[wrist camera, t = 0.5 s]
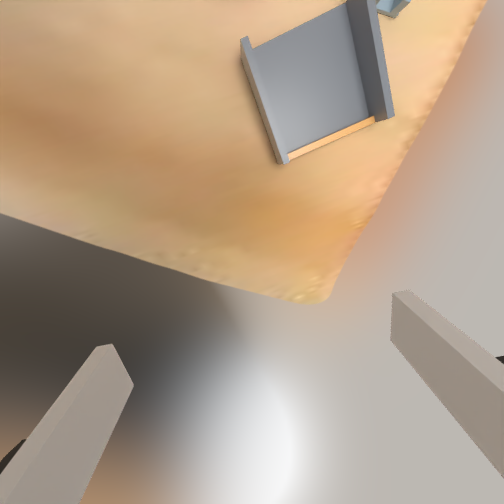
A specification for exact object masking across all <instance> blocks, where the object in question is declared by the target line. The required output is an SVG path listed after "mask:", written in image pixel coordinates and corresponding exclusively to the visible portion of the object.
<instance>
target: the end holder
mask: <svg viewBox="0 0 504 504" xmlns="http://www.w3.org/2000/svg"><path fill="white" fill-rule="evenodd" d="M240 47H241V60H242V63H243V66H244V69H245V72H246V75H247V77H248V80H249V83H250V86H251V89H252V91H253V94H254V97H255V100H256V103H257V106H258V108H259V111H260V114H261V117H262V120H263V123H264V125H265V128H266V131H267V134H268V137H269V139H270V142H271V145H272V148H273V151H274V154H275V156H276V159H277V162H278V164H283V165H284V164H286V163H289V162H290V160H291V159H293V158H296V157H298V156H300V155H302V154H305V153H307V152H309V151H311V150H314V149H316V148H318V147H320V146H323V145H325V144H327V143H330V142H332V141H334V140H336V139H339V138H341V137H343V136H345V135H348V134H350V133H352V132H355V131H357V130H359V129H361V128H364V127H366V126H368V125H370V124H373V123H375V122H378V121H382V120H386V119H389V118H391V117H393V116H395V114H394V108H393V102H392V96H391V91H390V85H389V79H388V73H387V67H386V61H385V55H384V49H383V43H382V38H381V32H380V26H379V20H378V14H377V8H376V2H375V0H347V1H346V3H344V4H342V5H340V6H338V7H336V8H334V9H332V10H330V11H328V12H326V13H324V14H322V15H320V16H318V17H316V18H314V19H312V20H310V21H308V22H306V23H304V24H302V25H300V26H298V27H296V28H294V29H292V30H290V31H288V32H286V33H284V34H282V35H280V36H278V37H276V38H274V39H272V40H270V41H268V42H266V43H264V44H262V45H260V46H258V47H256V48H254V49H252V47H251V44H250V41H249V38H248V36H246V37H244V38H242V39H240Z"/></svg>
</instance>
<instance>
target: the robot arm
mask: <svg viewBox="0 0 504 504" xmlns="http://www.w3.org/2000/svg"><path fill="white" fill-rule="evenodd" d="M391 341H392V342H393V344H394V345H395V346H396V347H397V349H398V350H399V351H400V352H401V353H402V355H403V356H404V357H405V358H406V360H407V361H408V362H409V363H410V364H411V366H412V367H413V368H414V369H415V370H416V372H417V373H418V374H419V375H420V377H421V378H422V379H423V380H424V382H425V383H426V384H427V385H428V386H429V388H430V389H431V390H432V391H433V393H434V394H435V395H436V396H437V397H438V399H439V400H440V401H441V402H442V403H443V405H444V406H445V407H446V408H447V410H448V411H449V412H450V413H451V415H452V416H453V417H454V418H455V419H456V421H457V422H458V423H459V424H460V426H461V427H462V428H463V429H464V430H465V432H466V433H467V434H468V435H469V436H470V438H471V439H472V440H473V441H474V443H475V444H476V445H477V446H478V448H479V449H480V450H481V451H482V452H483V454H484V455H485V456H486V457H487V459H488V460H489V461H490V462H491V463H492V465H493V466H494V467H495V468H496V469H497V471H498V472H499V473H500V474H501V476H502V477H503V478H504V356H500V357H494V356H492V355H491V354H490V353H489V352H487V351H486V350H485V349H484V348H482V347H481V346H480V345H478V344H477V343H476V342H475V341H473V340H472V339H470V337H468V336H467V335H466V334H465V333H463V332H462V331H461V330H460V329H458V328H457V327H456V326H454V325H453V324H452V323H451V322H449V321H448V320H447V319H445V318H444V317H443V316H442V315H441V314H439V313H438V312H437V311H435V310H434V309H433V308H432V307H430V306H429V305H428V304H427V303H425V302H424V301H423V300H422V299H420V298H419V297H418V296H416V295H415V294H414V293H413V292H411V291H410V290H406V291H401V292H395V293H393V294H392V317H391ZM133 386H134V385H133V383H132V381H131V379H130V377H129V375H128V373H127V371H126V369H125V367H124V365H123V363H122V361H121V360H120V358H119V356H118V354H117V352H116V350H115V348H114V346H113V344H109V345H103V346H98V347H96V348H95V349H94V351H93V352H92V353H91V355H90V356H89V358H88V359H87V360H86V361H85V363H84V364H83V365H82V367H81V368H80V369H79V371H78V372H77V373H76V375H75V376H74V377H73V379H72V380H71V381H70V383H69V384H68V385H67V387H66V388H65V389H64V391H63V392H62V393H61V395H60V396H59V397H58V399H57V400H56V401H55V403H54V404H53V405H52V406H51V408H50V409H49V411H48V412H47V413H46V414H45V416H44V417H43V418H42V420H41V421H40V423H39V424H38V425H37V426H36V428H35V429H34V430H33V432H32V433H31V434H30V436H29V437H28V438H27V439H24V440H22V441H21V442H20V443H19V444H18V445H17V446H16V447H14V448H13V449H12V450H11V451H10V452H9V453H8V454H7V455H6V456H5V457H4V458H3V459H2V460H1V462H0V504H79V503H80V500H81V498H82V496H83V494H84V492H85V489H86V488H87V485H88V483H89V481H90V479H91V477H92V475H93V472H94V470H95V468H96V466H97V464H98V462H99V460H100V457H101V455H102V453H103V451H104V448H105V447H106V444H107V442H108V440H109V438H110V436H111V434H112V432H113V429H114V427H115V425H116V423H117V421H118V419H119V416H120V414H121V412H122V410H123V408H124V406H125V403H126V401H127V399H128V397H129V395H130V393H131V390H132V388H133Z"/></svg>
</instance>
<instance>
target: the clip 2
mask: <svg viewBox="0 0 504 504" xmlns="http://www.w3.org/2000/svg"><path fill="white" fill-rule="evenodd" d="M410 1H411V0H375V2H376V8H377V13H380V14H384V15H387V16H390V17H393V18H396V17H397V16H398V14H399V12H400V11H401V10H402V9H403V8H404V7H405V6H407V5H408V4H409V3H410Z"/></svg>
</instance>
